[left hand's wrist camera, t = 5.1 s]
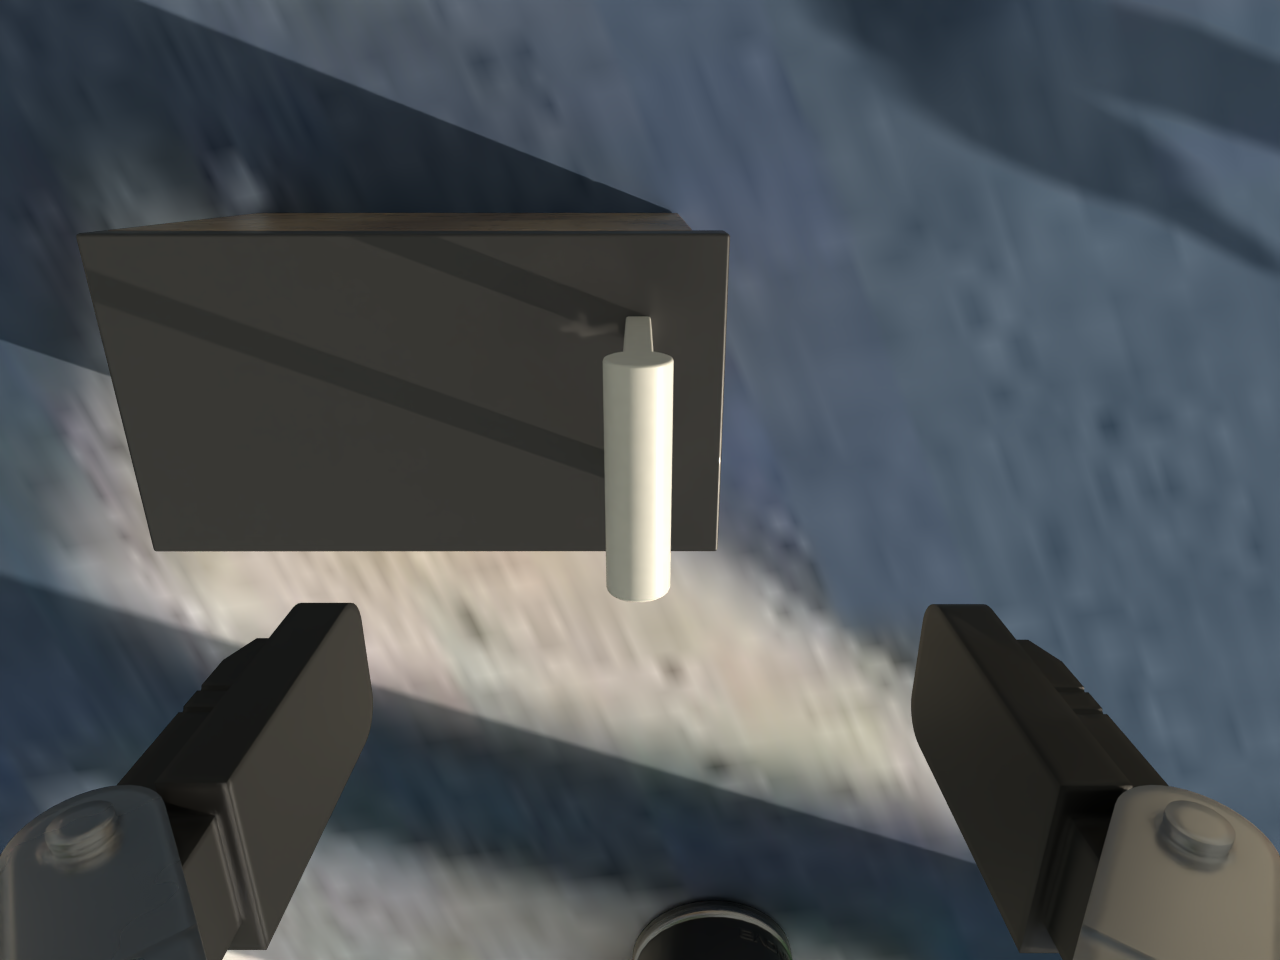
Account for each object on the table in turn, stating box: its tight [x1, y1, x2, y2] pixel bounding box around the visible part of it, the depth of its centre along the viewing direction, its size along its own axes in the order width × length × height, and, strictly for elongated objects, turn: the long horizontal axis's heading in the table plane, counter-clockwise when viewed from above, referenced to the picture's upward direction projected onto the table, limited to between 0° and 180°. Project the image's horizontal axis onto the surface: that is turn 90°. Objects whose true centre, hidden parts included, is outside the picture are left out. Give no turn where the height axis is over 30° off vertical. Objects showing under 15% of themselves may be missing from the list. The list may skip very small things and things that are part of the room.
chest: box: [108, 213, 693, 231], centre depth 29 cm, size 17×10×10 cm, turn 90°
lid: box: [76, 231, 730, 602], centre depth 21 cm, size 18×10×8 cm, turn 90°
